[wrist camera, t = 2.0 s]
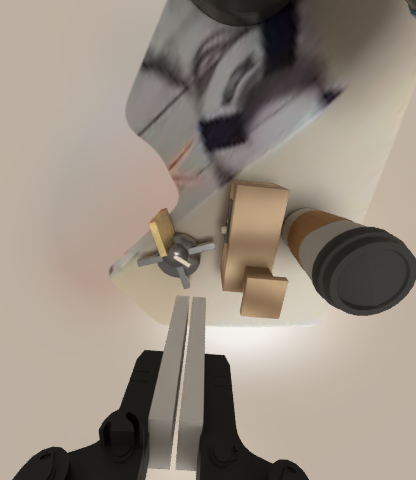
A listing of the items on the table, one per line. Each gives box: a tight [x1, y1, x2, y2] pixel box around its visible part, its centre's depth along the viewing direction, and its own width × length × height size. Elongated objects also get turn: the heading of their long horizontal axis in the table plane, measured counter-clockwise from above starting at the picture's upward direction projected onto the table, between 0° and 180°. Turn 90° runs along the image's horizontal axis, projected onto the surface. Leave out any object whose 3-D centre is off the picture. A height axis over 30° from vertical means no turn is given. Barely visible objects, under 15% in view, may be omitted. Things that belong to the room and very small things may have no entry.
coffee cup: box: [282, 208, 416, 316], centre depth 26 cm, size 8×8×15 cm
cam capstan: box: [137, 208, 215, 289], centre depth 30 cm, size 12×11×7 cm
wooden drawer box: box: [220, 180, 290, 319], centre depth 28 cm, size 14×7×11 cm, turn 175°
